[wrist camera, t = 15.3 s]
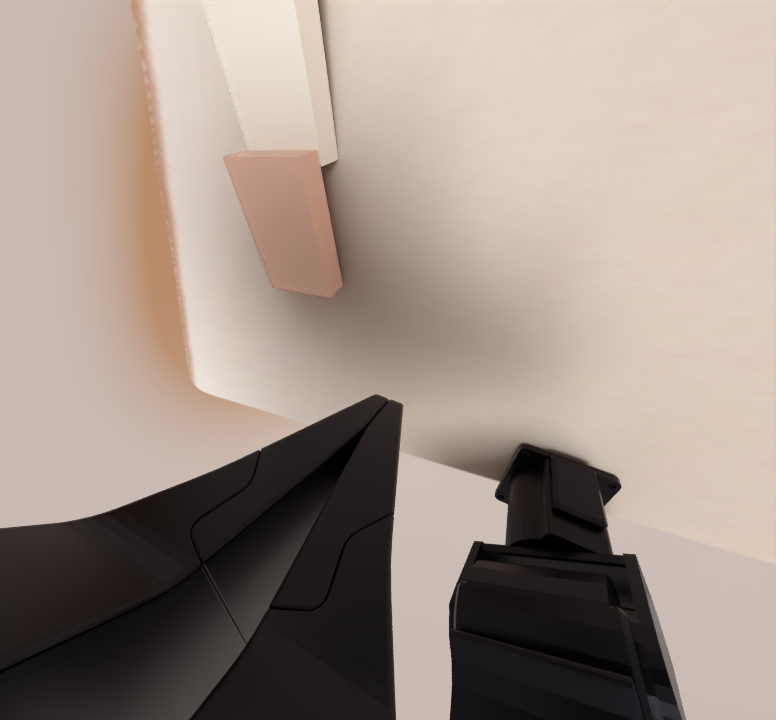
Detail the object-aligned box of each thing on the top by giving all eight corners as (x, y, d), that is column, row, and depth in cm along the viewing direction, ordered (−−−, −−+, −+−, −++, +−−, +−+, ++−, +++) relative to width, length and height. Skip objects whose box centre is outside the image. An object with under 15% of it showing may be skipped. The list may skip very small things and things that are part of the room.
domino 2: (330, 298, 20) (297, 156, 14) (272, 287, 21) (222, 156, 16) (342, 285, 21) (317, 150, 15) (287, 276, 22) (245, 150, 17)
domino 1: (322, 166, 16) (277, -102, 10) (251, 162, 17) (178, -73, 12) (338, 159, 17) (306, -85, 11) (271, 156, 18) (213, -60, 13)
